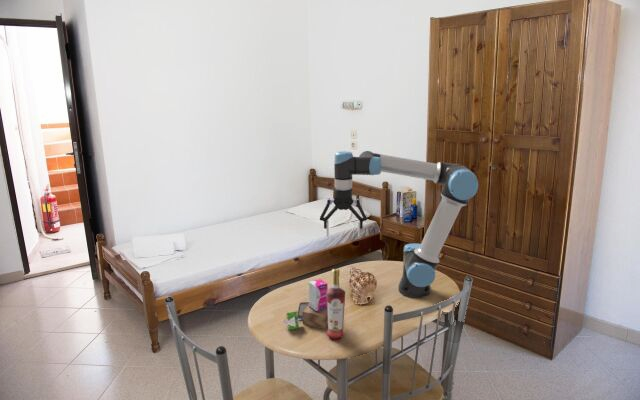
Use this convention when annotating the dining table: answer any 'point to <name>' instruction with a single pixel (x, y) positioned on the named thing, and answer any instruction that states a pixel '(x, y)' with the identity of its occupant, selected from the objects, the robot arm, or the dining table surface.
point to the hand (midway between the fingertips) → (343, 235)
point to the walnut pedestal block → (315, 318)
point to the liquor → (335, 307)
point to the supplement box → (317, 295)
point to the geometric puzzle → (292, 320)
